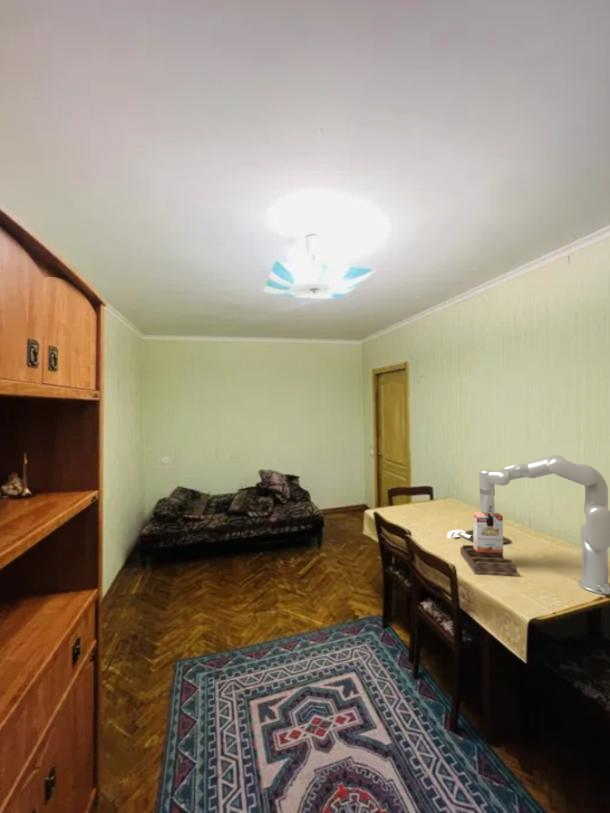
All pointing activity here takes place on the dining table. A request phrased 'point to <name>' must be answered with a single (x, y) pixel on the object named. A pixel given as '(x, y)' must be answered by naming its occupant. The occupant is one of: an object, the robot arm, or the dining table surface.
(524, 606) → the dining table surface
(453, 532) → the cloth
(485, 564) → the rack
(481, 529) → the cracker box
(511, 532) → the dining table surface
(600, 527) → the robot arm
